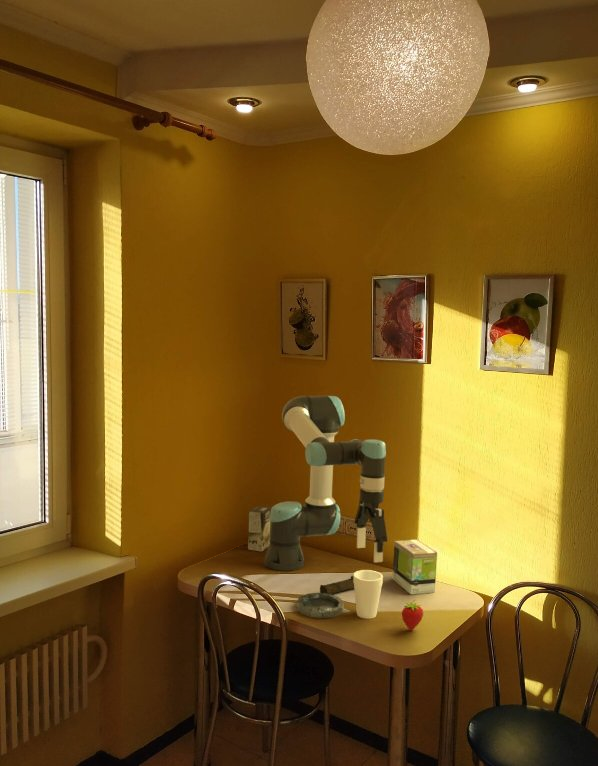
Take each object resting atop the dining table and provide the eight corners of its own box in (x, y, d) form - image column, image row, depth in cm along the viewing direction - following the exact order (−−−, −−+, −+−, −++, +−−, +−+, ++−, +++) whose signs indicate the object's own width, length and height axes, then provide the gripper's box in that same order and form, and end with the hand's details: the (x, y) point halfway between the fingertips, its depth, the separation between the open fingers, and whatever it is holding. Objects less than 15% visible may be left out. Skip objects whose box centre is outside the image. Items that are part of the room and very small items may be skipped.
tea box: (436, 592, 245) (438, 551, 243) (410, 595, 242) (412, 554, 240) (416, 576, 259) (418, 538, 257) (391, 579, 256) (393, 540, 254)
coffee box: (262, 552, 280) (263, 512, 278) (247, 549, 282) (248, 510, 280) (270, 544, 289) (271, 507, 287) (256, 542, 291) (257, 505, 289)
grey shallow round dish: (291, 601, 234) (291, 595, 233) (333, 596, 238) (333, 591, 238) (305, 620, 219) (305, 614, 219) (350, 615, 224) (350, 609, 224)
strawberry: (426, 630, 215) (428, 599, 214) (411, 637, 210) (413, 605, 209) (411, 623, 219) (413, 592, 218) (396, 630, 214) (397, 599, 213)
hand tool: (325, 598, 237) (325, 585, 237) (318, 594, 240) (319, 581, 240) (369, 588, 247) (370, 576, 246) (362, 584, 250) (363, 572, 250)
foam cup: (387, 615, 225) (388, 576, 224) (368, 623, 219) (370, 583, 217) (364, 605, 232) (366, 567, 230) (345, 613, 225) (347, 574, 224)
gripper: (346, 480, 232) (343, 542, 234) (377, 500, 208) (374, 569, 210) (367, 479, 234) (364, 541, 236) (400, 498, 210) (397, 567, 212)
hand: (369, 554), depth 223 cm, fingers open, 13 cm apart
